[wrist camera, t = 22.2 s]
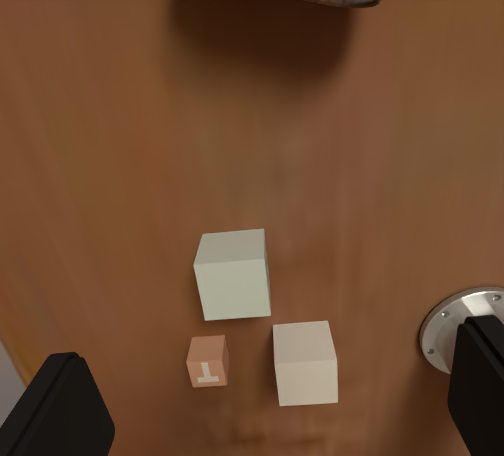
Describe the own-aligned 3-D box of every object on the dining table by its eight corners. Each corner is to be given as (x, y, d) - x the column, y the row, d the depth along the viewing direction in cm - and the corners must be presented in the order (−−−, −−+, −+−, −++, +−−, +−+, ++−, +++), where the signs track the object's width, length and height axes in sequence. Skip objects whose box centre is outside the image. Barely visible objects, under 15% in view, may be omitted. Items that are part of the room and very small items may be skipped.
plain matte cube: (263, 228, 39) (264, 258, 33) (269, 280, 42) (270, 315, 36) (202, 234, 39) (193, 264, 34) (212, 284, 42) (205, 320, 37)
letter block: (224, 334, 45) (221, 360, 42) (229, 359, 47) (226, 386, 44) (192, 336, 46) (186, 362, 42) (198, 361, 47) (192, 388, 44)
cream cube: (327, 320, 44) (336, 359, 39) (329, 360, 47) (337, 402, 41) (272, 324, 44) (274, 363, 39) (277, 364, 47) (279, 406, 42)
